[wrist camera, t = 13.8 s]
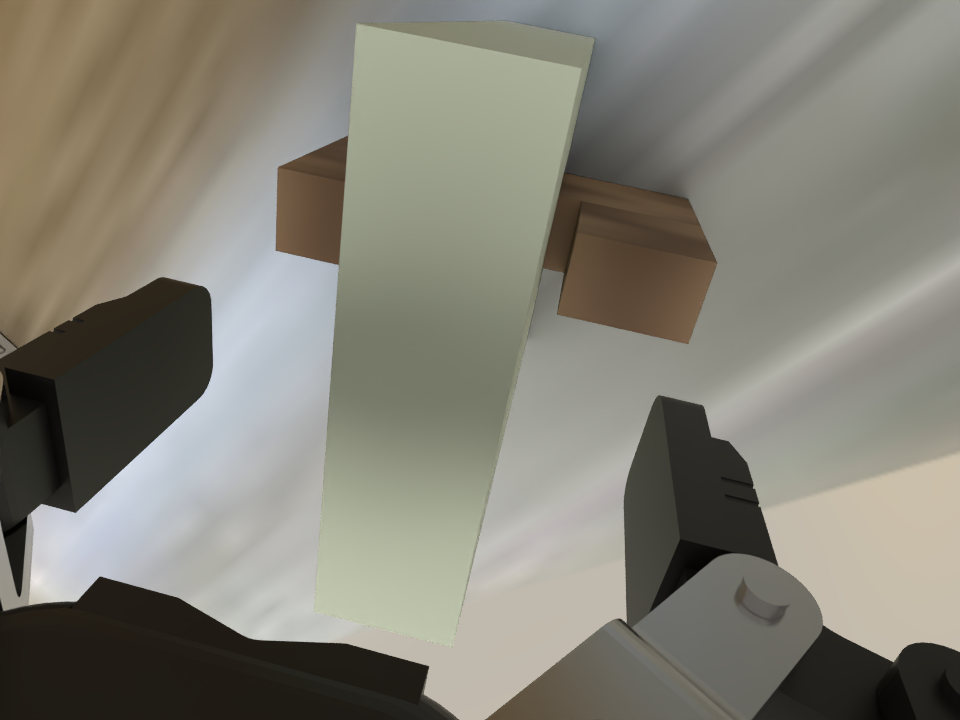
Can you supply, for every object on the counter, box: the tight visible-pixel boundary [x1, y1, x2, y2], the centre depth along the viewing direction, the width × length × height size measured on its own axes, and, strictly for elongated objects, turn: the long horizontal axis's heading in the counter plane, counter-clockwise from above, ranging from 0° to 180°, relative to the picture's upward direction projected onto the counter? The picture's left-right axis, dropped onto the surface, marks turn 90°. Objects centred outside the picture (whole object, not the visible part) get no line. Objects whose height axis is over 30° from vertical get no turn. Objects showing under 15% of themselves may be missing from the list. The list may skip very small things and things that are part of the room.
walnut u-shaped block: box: [276, 136, 717, 344], centre depth 21 cm, size 12×2×7 cm, turn 80°
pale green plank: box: [314, 21, 595, 647], centre depth 18 cm, size 11×3×15 cm, turn 170°
